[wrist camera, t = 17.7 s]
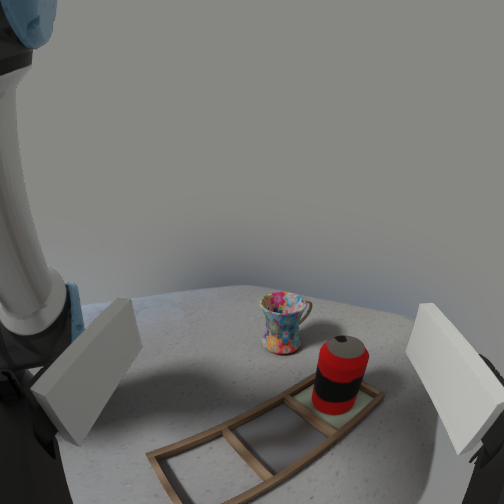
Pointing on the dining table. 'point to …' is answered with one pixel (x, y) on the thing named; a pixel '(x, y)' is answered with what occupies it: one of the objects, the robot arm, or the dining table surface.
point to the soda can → (339, 374)
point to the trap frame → (277, 435)
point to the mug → (283, 321)
